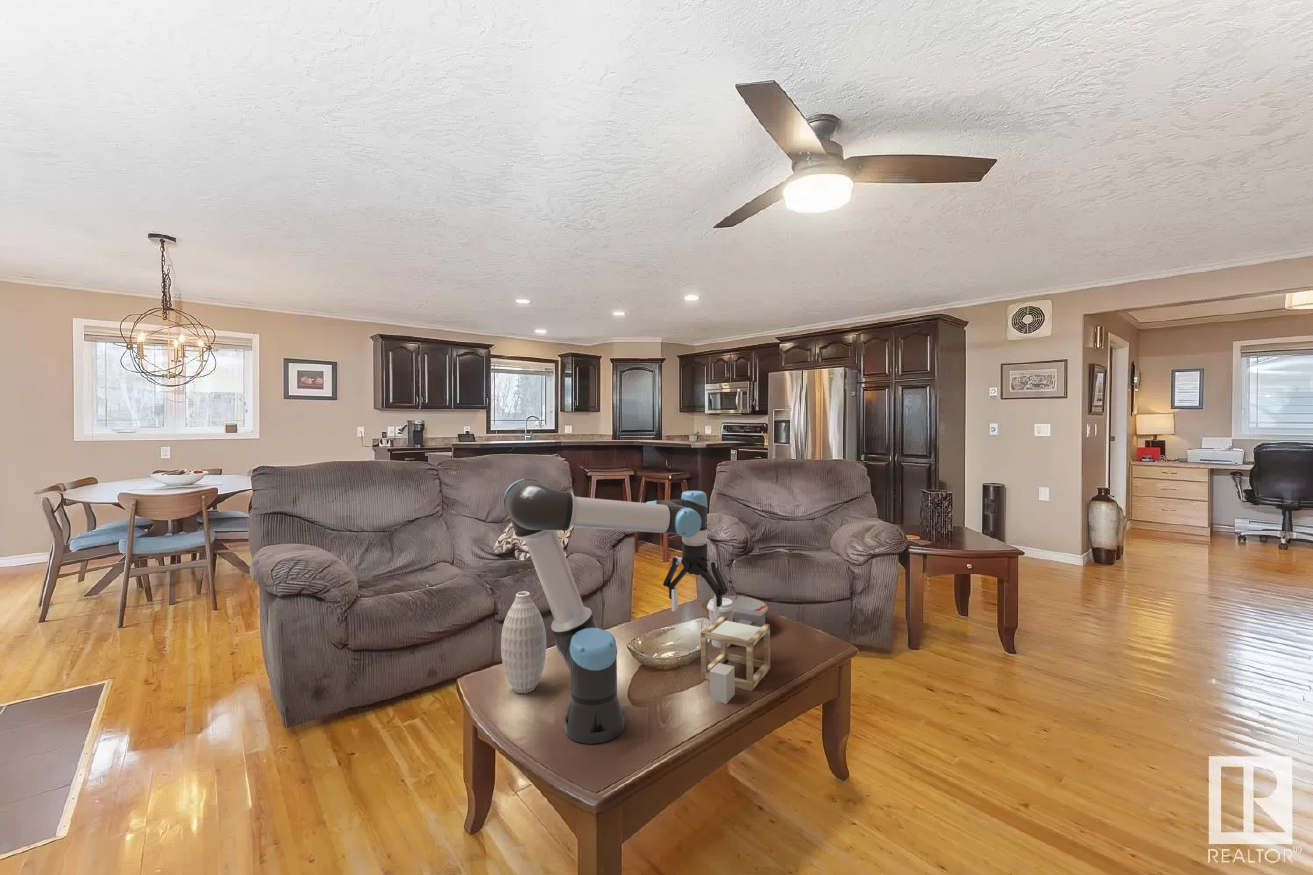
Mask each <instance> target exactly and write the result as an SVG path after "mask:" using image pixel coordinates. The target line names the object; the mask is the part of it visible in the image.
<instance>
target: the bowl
mask: <svg viewBox="0 0 1313 875" xmlns="http://www.w3.org/2000/svg"><path fill="white" fill-rule="evenodd" d="M722 598H727V599H730V600H732V602H733V604H734V606H735V609H734V610H733V621H732V622H734V611H736V610H737V609H738V608H743V609H748V610H754V611H760V612H765V617H766V615H767V614H768V612H769V610H770V607H769V604H767V603H766V602H764V601H762V600H760V599H757V598H754V597H751V596H744V595H729V594H728V595H722ZM711 599H713V597H711V598H708V599H705V600H703V602H702V603H700V606H701V610H702V611H703V614H704V615H705V616H706V618H707V619H708V620H709V621H710V619H709V609H708V608H707V605H708V603H709V601H710V600H711Z"/></svg>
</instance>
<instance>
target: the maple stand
mask: <svg viewBox="0 0 1313 875" xmlns="http://www.w3.org/2000/svg"><path fill="white" fill-rule="evenodd" d="M725 621H727V616H721V617H720V618H719V619H718V620H716V621H715V622H714V623H712V624H711V625H710V624H709V626H707V627H706V628H704V629H703V630H702V631H701V632H700V671H701V672H700V678H701V679H702V680H706V681H710V679H709V671H710V670H711V669H712V668H713V667H714V666H716V665H717V664H718V663H721V664H725V662H726V661H728V662H733V663H737V664H742V665H745V666H746V670H745V671H746V673H745V674H746V679H743V678H739V677H735V688H739V689H741V690H742V689H743V690H745V691H749V692H752V691H753V690H754V689H755V688H756V686H758V684H759V683H760V682H761V680H762V679H763V678H764V677H765V675H767V673H768V672H769V671H770V670H771V625H770V624H768V623H765V624H764V625H763V626H762V627H761V628H760V629H759V630H758V631H757V632H756V633H755V634H754V635H753V636H752V637H751V638H750V639H749V640H745V639H741V638H736V637H731V636H726V635H721V634H716V633H712V631H713V630H715V629H716V628H717V627H718V626H720V625H721V624H722V623H723V622H725ZM762 638H763V660H760V659H756V658H754V646H755V645H756V644H757V643H758V642H759V641H760V640H761V639H762ZM708 640H711V641H712V640H716V641H720V642H721V648H720V654H719V655H718V656H717V657H716V658H715V659H713V661H711V662H710V663H709V664H708V662H709V658H708V656H709V655H708V653H709V652H708V650H709V649H708V648H709V647H708V646H709V645H708V644H709V643H708ZM727 643H730V644H731V645H736V646H740V647H745V648H746V656H743V655H737V654H733V653H728V647H727ZM754 667H755V668H758V670H756V672H755V673H754Z"/></svg>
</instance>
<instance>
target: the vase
mask: <svg viewBox="0 0 1313 875" xmlns="http://www.w3.org/2000/svg"><path fill="white" fill-rule="evenodd" d="M544 622H545V621H544V620H543V617H542V614H541V612H540V610H539V608H538V607H537V605H536V604H535V602H534V601H533V600H532V598H531V593H530V592H528V591H518V592H517V593H516V594H515V598H514V601H513V602H512V604H511V605H510V608H509V609H508V611H507V614H506V616H505V619H504V621H503V625H502V629H501V634H500V635H501V636H500V637H501V638H500V651H501V652H500V654H501V655H500V656H501V663H502V668H503V672H504V674H505V677H506V680H507V682H508V684H509V686H511V688H512V690H513V691H514V693H516V694H519V693H522V694H523V693H525V694H529V693H531V691H532V692H533V691H534V690H535V689H536V688H537V686H538V684H539V682H540V680H541V678H542V675H543V672H544V669H545V665H546V658H547V636H546V635H547V634H546V633H547V632H546V627H545V623H544ZM528 692H529V693H528ZM522 694H521V695H522Z"/></svg>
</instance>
